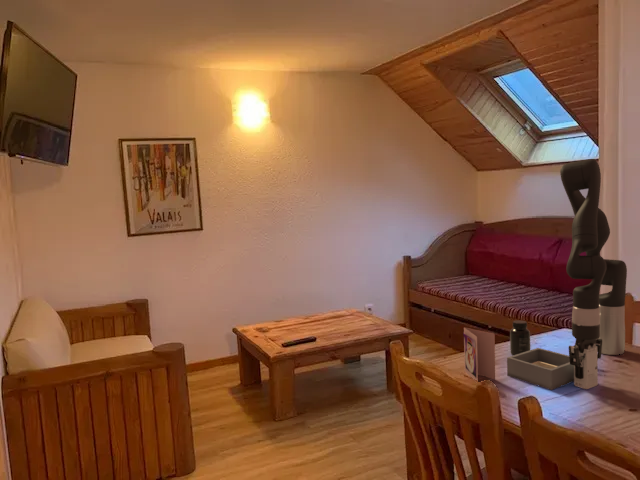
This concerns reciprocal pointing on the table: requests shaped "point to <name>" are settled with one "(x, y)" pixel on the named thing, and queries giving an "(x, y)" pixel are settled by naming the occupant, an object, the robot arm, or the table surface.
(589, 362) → the skincare box
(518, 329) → the supplement bottle
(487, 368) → the greeting card
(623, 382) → the table surface
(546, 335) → the table surface
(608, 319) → the robot arm
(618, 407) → the table surface
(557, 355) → the crate
